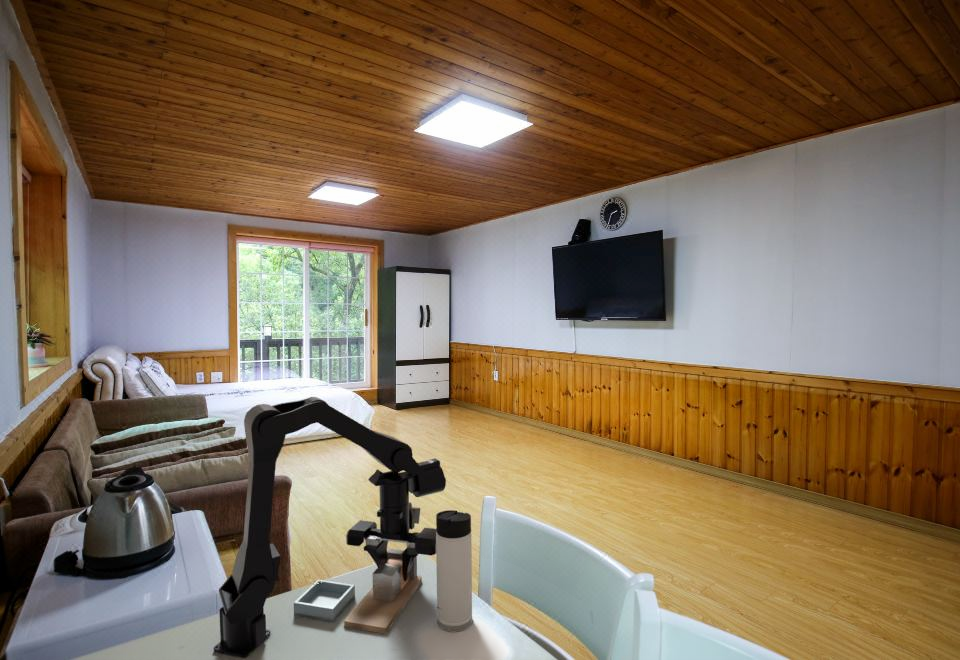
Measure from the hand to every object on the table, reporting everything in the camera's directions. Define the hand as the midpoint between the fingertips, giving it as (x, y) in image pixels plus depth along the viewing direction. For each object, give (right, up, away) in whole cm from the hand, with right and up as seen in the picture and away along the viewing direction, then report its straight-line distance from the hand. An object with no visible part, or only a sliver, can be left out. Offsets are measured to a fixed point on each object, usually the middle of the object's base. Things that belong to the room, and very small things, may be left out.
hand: (395, 578), depth 102 cm
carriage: (-1, -1, -4) cm, 4 cm away
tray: (-12, -3, -6) cm, 14 cm away
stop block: (0, -1, 0) cm, 1 cm away
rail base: (-1, -2, -4) cm, 5 cm away
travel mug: (+12, -3, -11) cm, 16 cm away
